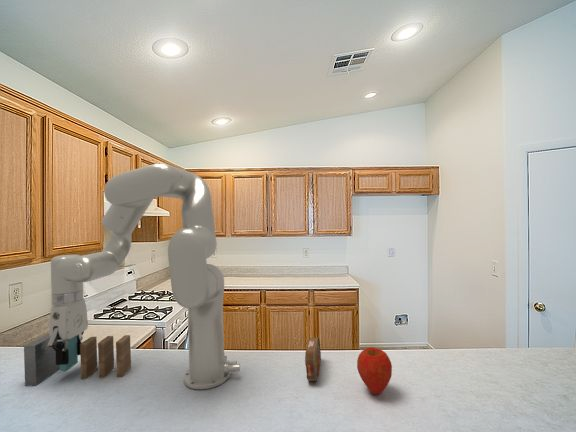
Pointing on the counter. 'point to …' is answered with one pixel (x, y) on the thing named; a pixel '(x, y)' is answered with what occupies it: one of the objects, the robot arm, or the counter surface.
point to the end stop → (39, 361)
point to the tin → (313, 359)
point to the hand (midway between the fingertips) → (69, 358)
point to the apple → (374, 369)
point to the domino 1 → (70, 354)
